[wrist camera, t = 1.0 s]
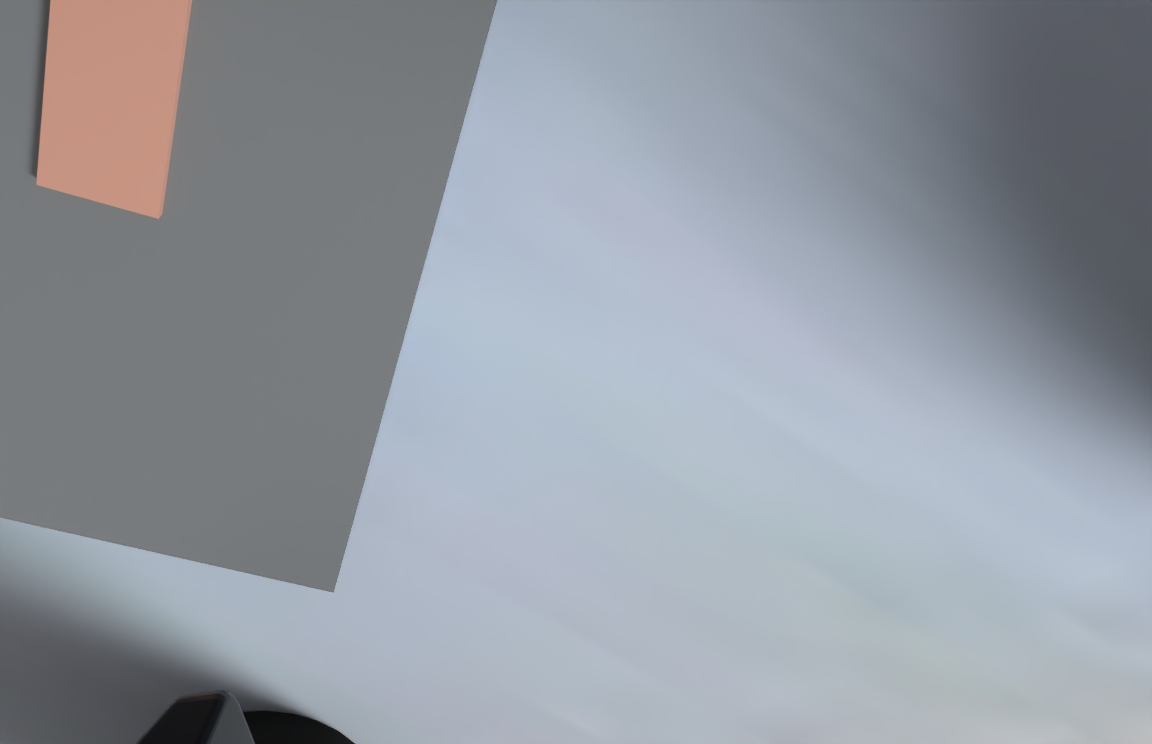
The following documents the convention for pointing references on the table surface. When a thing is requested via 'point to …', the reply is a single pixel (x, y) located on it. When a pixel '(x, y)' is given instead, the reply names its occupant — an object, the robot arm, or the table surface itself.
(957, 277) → the table surface
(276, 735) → the cup
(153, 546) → the panel
